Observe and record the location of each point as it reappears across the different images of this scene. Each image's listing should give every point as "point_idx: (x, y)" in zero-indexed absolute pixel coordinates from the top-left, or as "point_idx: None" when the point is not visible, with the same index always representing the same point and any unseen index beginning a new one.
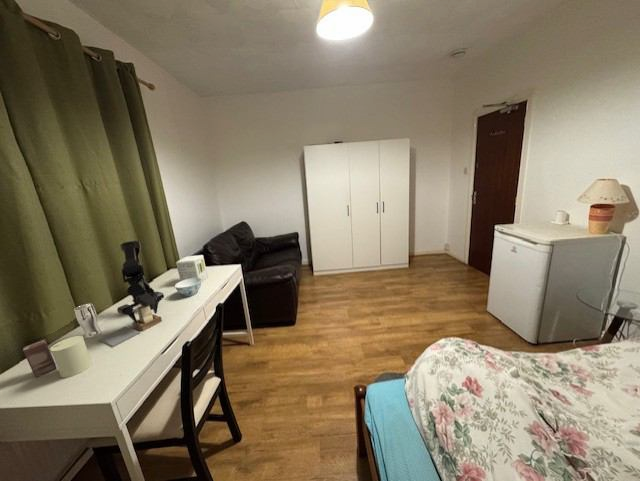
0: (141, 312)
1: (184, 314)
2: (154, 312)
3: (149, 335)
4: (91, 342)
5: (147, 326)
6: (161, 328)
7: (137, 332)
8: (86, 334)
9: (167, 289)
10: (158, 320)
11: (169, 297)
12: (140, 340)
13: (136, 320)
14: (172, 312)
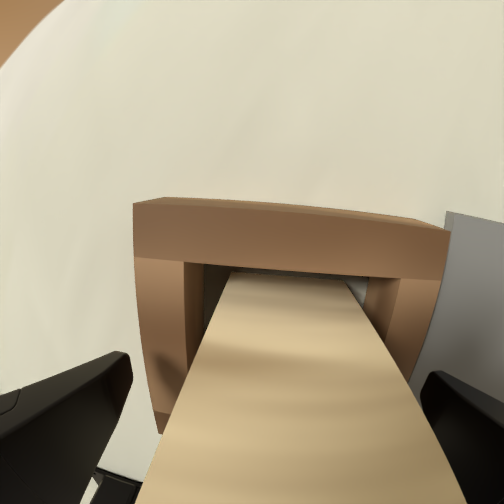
0: (445, 478)
1: (20, 98)
2: (127, 389)
3: (433, 50)
4: None
5: (372, 215)
6: (294, 26)
7: (465, 237)
8: None
9: None
10: (196, 200)
11: None
12: (496, 79)
13: (456, 388)
14: (30, 277)
